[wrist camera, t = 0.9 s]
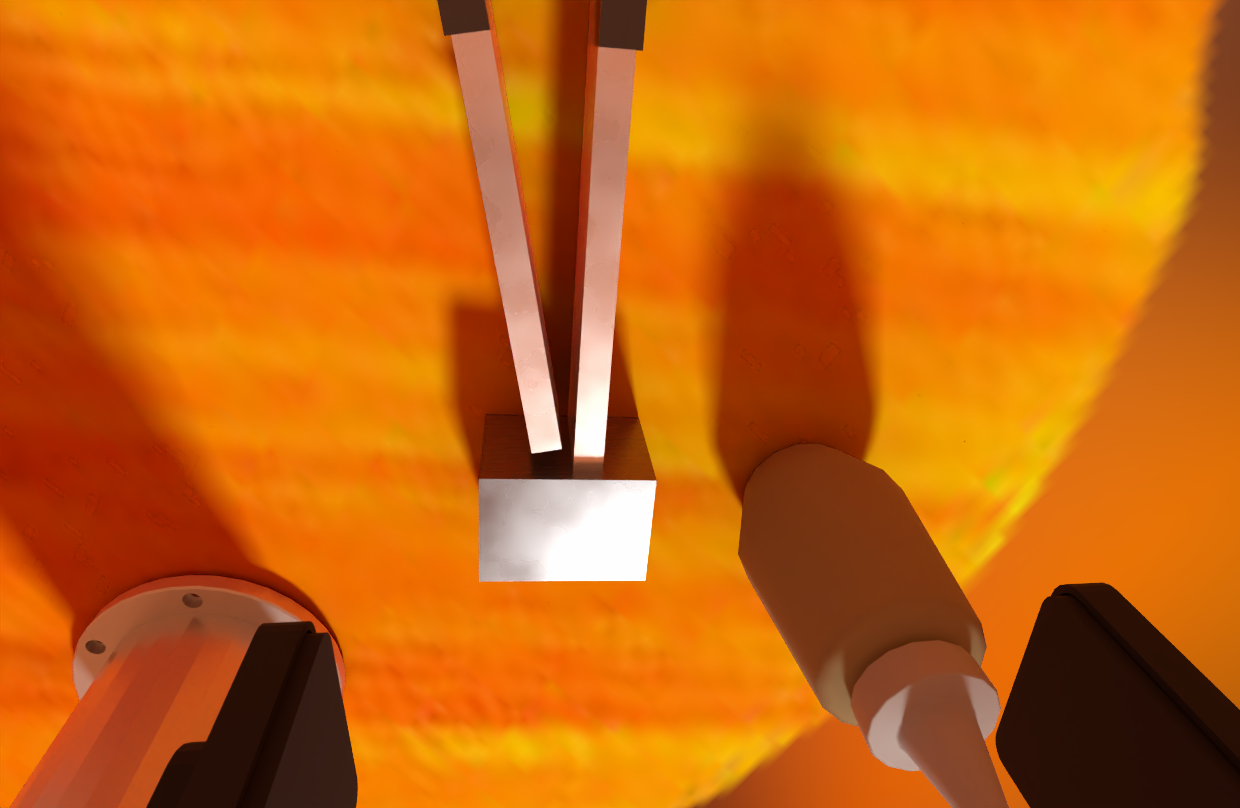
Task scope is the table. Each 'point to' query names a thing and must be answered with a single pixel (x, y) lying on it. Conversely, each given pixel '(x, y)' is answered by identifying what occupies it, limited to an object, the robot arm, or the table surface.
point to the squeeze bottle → (873, 615)
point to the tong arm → (505, 211)
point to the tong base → (580, 375)
